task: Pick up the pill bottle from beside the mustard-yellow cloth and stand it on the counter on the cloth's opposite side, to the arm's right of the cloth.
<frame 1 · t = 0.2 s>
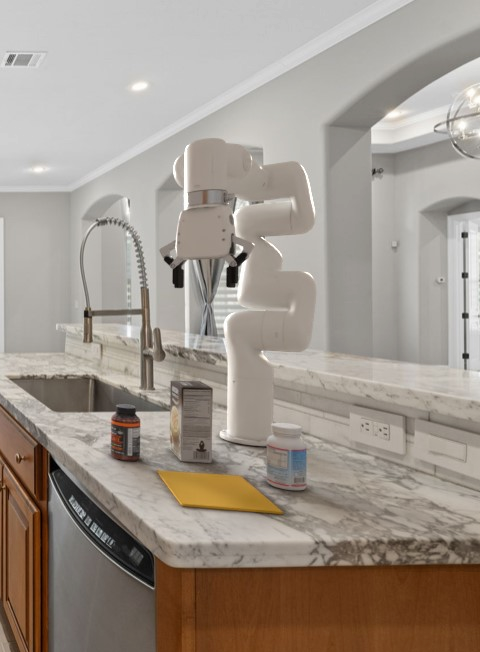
hand: (204, 287, 109), 37 cm above the worktop, tool pointing down, fingers open, 9 cm apart
cloth: (213, 490, 98), on the worktop
coffee box: (190, 457, 119), on the worktop
pill bottle: (285, 486, 101), on the worktop
supplement bottle: (125, 458, 118), on the worktop
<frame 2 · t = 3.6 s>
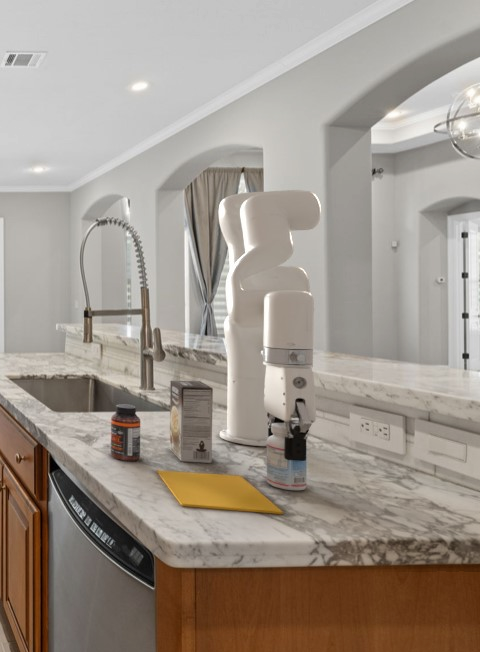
hand: (286, 453, 101), 6 cm above the worktop, tool pointing down, fingers closed on pill bottle, 6 cm apart
pill bottle: (285, 486, 101), on the worktop, touching gripper
everything else where it was.
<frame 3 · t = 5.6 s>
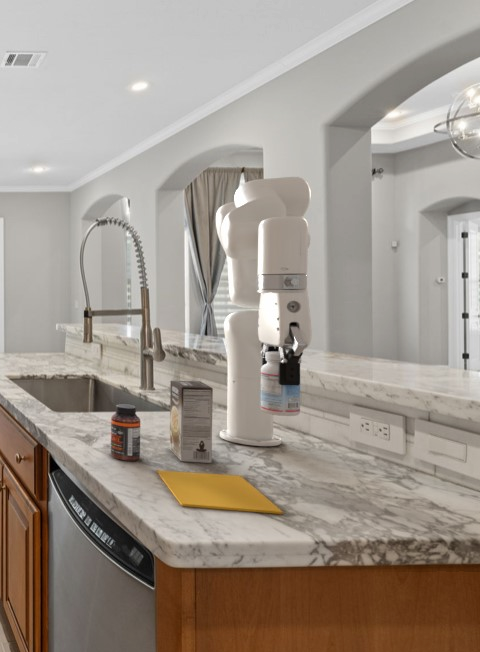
hand: (280, 380, 101), 19 cm above the worktop, tool pointing down, fingers closed on pill bottle, 6 cm apart
pill bottle: (279, 414, 101), point 13 cm above the worktop, touching gripper
everything else where it was.
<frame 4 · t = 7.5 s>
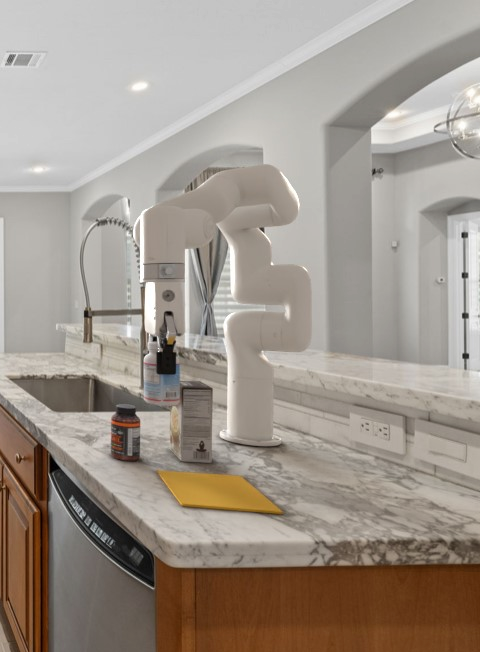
hand: (161, 370, 101), 21 cm above the worktop, tool pointing down, fingers closed on pill bottle, 6 cm apart
pill bottle: (161, 404, 101), point 15 cm above the worktop, touching gripper
everything else where it was.
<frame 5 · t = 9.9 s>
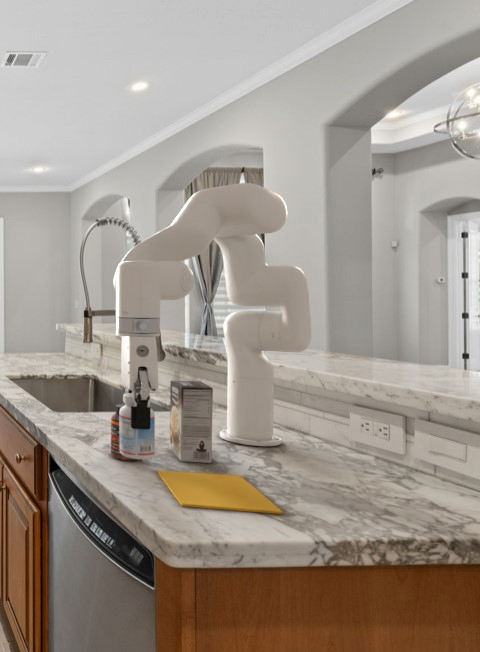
hand: (136, 423, 101), 12 cm above the worktop, tool pointing down, fingers closed on pill bottle, 6 cm apart
pill bottle: (136, 456, 101), point 5 cm above the worktop, touching gripper
everything else where it was.
when the fingers open (6 cm above the worktop, at t = 11.7 s): pill bottle stays where it is, on the worktop.
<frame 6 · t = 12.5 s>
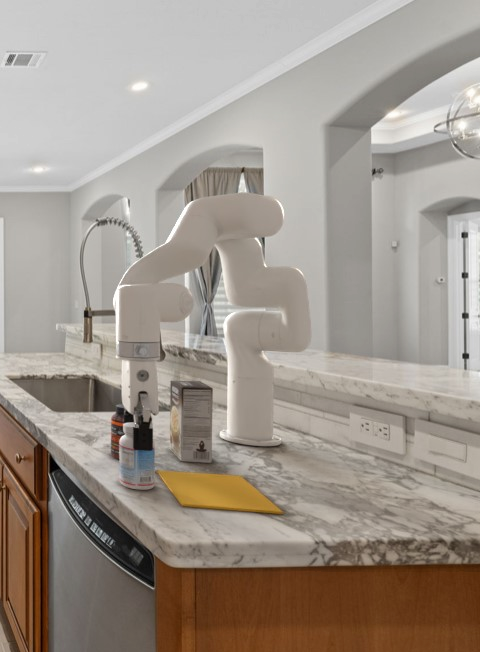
hand: (137, 442, 101), 8 cm above the worktop, tool pointing down, fingers open, 9 cm apart
pill bottle: (136, 486, 101), on the worktop
everything else where it was.
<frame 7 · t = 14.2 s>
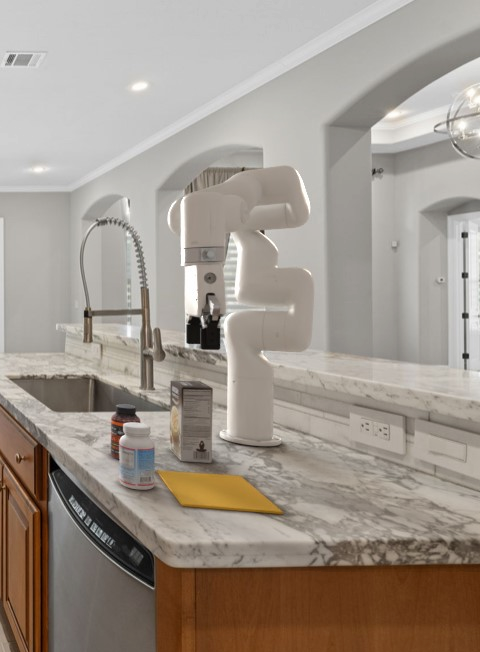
hand: (202, 346, 105), 25 cm above the worktop, tool pointing down, fingers open, 9 cm apart
nothing on the worktop moved.
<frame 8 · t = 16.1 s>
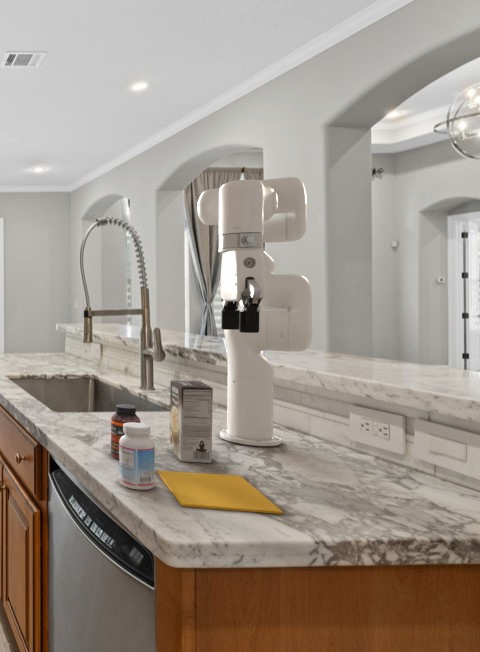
hand: (239, 330, 107), 28 cm above the worktop, tool pointing down, fingers open, 9 cm apart
nothing on the worktop moved.
at the end: pill bottle inside the target area (1.9 cm from its centre), on the worktop; pill bottle tilted 0°; the gripper is holding nothing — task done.
